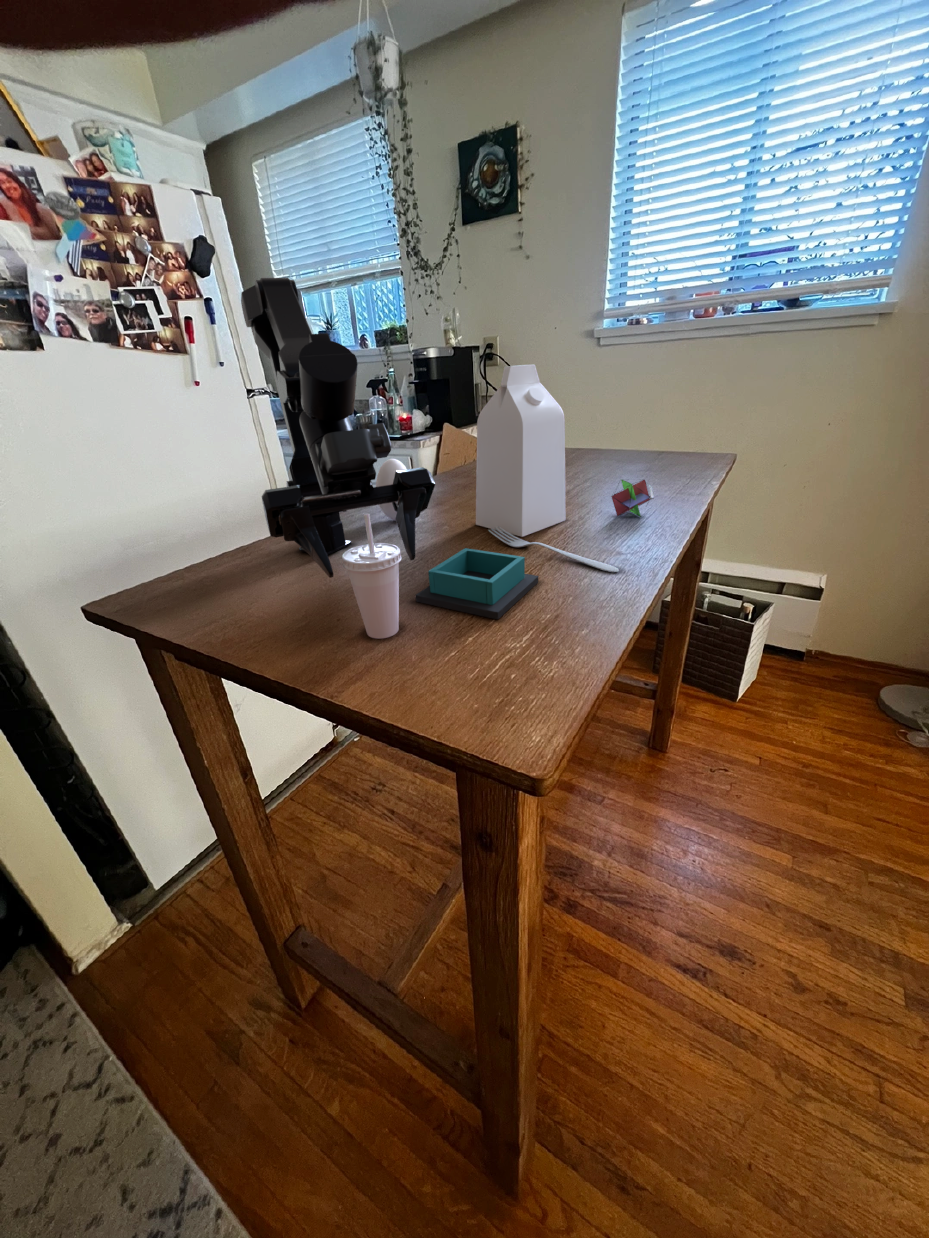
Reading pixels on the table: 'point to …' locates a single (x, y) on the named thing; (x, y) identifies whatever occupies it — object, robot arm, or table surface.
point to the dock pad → (478, 583)
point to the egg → (388, 482)
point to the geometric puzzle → (631, 497)
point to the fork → (578, 558)
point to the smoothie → (375, 583)
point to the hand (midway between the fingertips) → (373, 567)
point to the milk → (520, 456)
